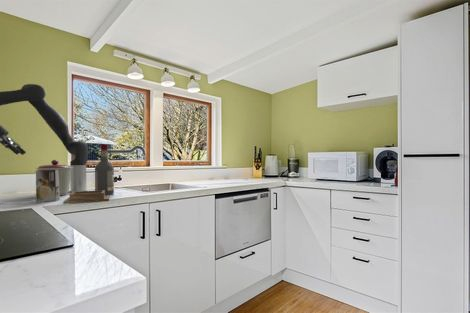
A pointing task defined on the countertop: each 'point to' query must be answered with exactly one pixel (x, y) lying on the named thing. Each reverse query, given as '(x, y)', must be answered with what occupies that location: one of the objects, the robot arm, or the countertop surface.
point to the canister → (60, 175)
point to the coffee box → (47, 185)
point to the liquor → (104, 173)
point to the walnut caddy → (87, 196)
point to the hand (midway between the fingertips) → (21, 153)
